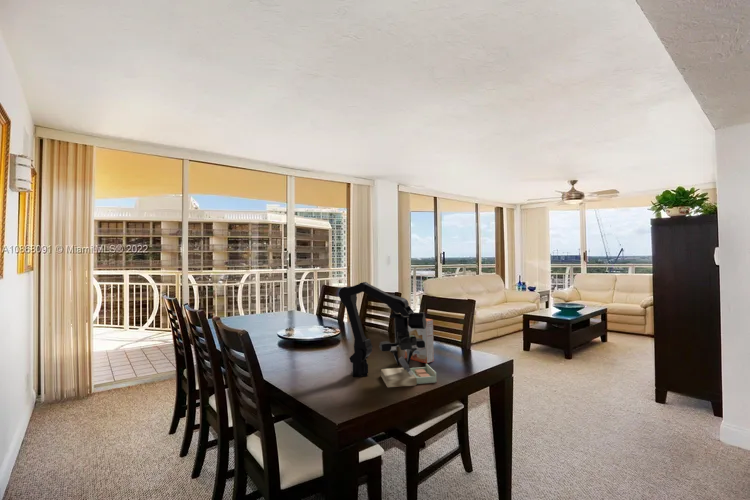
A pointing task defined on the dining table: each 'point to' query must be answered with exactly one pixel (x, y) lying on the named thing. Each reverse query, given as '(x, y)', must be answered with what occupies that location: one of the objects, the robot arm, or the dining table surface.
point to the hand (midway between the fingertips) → (403, 364)
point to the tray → (430, 379)
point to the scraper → (405, 365)
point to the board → (397, 377)
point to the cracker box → (427, 336)
